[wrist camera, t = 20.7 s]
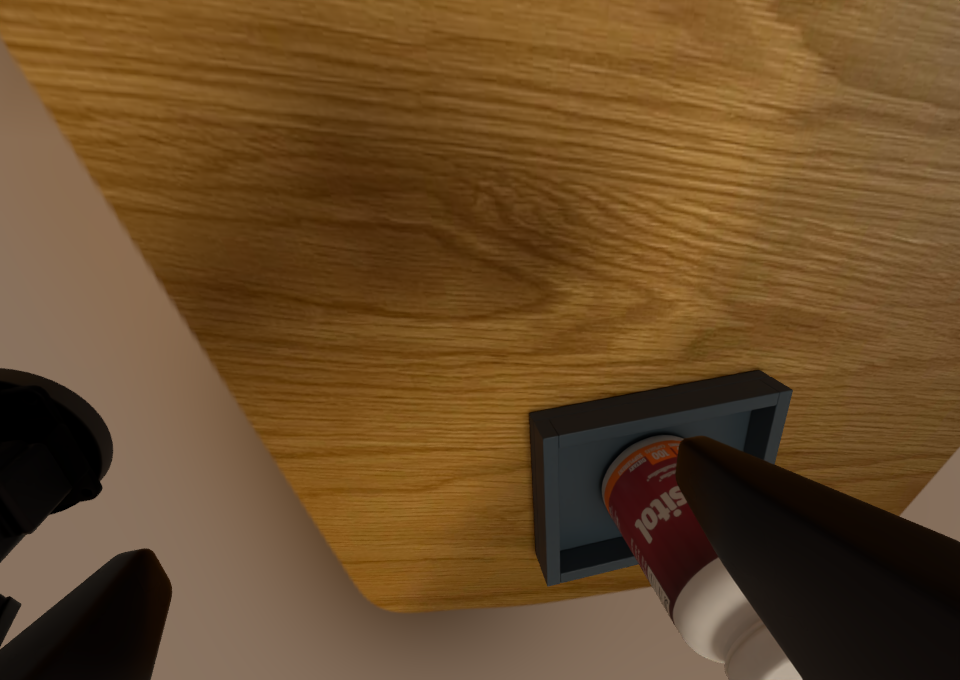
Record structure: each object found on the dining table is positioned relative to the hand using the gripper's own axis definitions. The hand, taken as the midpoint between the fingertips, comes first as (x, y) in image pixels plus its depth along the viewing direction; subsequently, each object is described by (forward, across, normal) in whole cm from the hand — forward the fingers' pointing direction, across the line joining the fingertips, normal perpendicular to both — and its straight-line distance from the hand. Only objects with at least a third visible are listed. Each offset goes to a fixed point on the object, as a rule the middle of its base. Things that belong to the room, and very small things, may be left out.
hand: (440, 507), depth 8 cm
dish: (+13, -12, +13) cm, 22 cm away
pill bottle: (+12, -12, +13) cm, 21 cm away
